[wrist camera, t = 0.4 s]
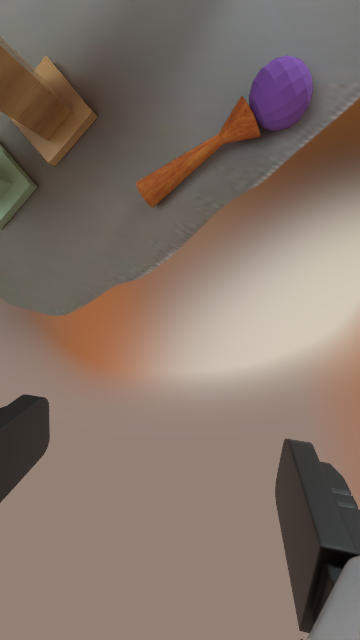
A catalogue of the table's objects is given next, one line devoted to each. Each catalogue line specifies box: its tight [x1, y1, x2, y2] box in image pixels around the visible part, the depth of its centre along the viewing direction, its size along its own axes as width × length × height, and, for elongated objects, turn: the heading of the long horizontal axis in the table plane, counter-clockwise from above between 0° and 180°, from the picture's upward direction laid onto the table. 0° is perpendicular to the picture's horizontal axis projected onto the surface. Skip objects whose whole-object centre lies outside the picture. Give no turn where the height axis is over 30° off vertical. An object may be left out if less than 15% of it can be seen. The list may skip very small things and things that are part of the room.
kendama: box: [136, 55, 313, 207], centre depth 32 cm, size 6×6×20 cm
